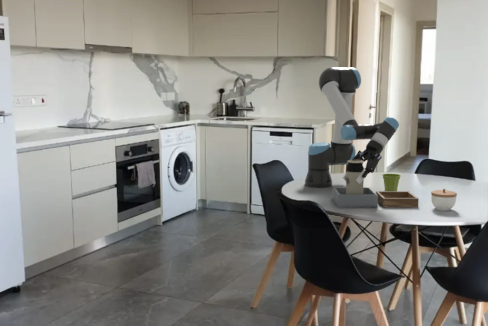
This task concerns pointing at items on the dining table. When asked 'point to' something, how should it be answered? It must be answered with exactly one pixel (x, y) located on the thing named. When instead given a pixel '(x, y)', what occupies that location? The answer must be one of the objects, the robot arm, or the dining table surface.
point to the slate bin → (355, 198)
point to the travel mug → (354, 177)
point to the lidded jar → (443, 199)
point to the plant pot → (391, 181)
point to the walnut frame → (397, 199)
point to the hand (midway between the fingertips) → (351, 180)
